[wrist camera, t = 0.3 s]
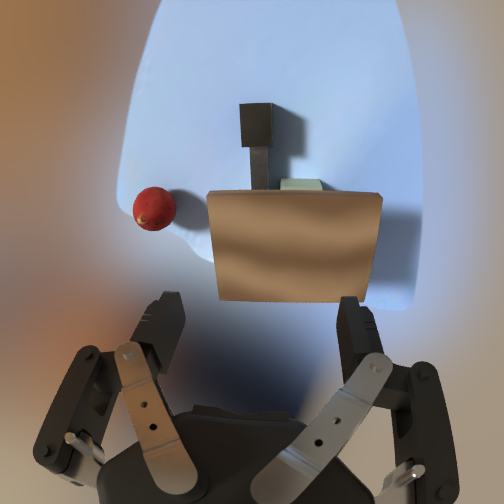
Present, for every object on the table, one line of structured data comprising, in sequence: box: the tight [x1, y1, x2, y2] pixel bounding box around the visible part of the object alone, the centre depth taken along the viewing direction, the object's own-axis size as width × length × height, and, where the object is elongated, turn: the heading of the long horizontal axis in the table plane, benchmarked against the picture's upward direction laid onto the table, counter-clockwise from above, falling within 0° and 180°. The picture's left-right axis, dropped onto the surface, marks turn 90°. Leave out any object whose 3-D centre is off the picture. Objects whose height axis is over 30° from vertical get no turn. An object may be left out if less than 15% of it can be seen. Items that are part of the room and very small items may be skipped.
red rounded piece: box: [133, 187, 176, 231], centre depth 36 cm, size 6×6×8 cm
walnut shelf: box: [206, 190, 383, 303], centre depth 33 cm, size 12×16×12 cm
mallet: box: [239, 103, 274, 190], centre depth 34 cm, size 18×12×4 cm
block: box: [280, 178, 323, 190], centre depth 36 cm, size 5×5×4 cm
